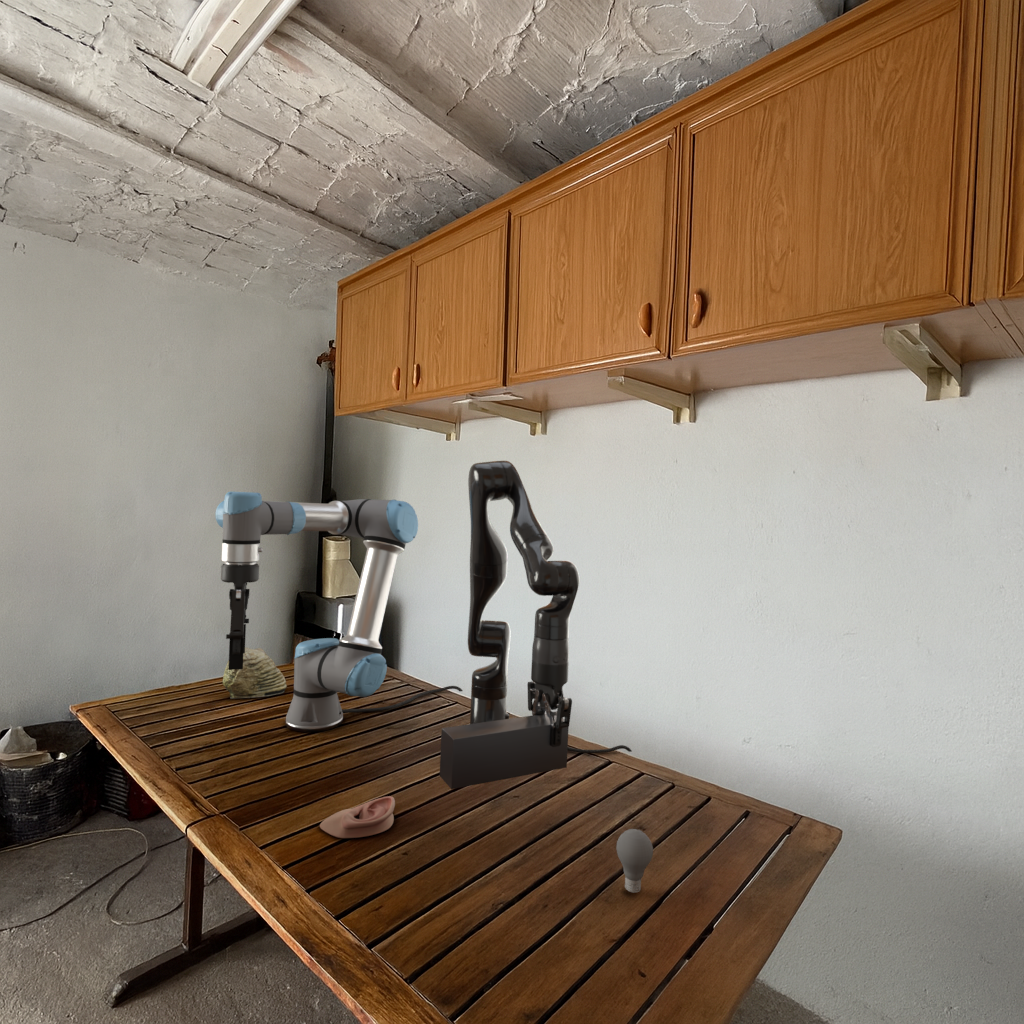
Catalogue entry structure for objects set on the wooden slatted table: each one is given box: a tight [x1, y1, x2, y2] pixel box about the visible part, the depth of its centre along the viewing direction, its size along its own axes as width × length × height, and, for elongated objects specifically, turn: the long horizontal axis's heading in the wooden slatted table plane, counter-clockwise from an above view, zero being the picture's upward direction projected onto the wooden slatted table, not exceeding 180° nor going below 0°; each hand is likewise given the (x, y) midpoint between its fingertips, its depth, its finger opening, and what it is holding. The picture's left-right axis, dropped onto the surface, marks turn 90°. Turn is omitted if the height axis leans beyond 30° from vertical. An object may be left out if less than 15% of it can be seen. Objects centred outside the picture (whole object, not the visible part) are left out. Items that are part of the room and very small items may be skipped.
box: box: [439, 713, 570, 790], centre depth 125 cm, size 25×6×9 cm, turn 118°
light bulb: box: [615, 828, 654, 894], centre depth 106 cm, size 6×6×10 cm
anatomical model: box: [319, 795, 396, 839], centre depth 123 cm, size 13×4×12 cm
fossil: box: [222, 646, 288, 699], centre depth 198 cm, size 9×18×15 cm, turn 132°
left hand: (237, 661), depth 137 cm, fingers open, 13 cm apart
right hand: (546, 739), depth 129 cm, fingers closed on box, 6 cm apart
